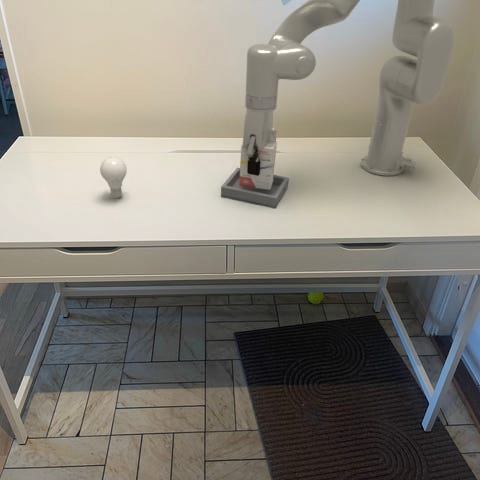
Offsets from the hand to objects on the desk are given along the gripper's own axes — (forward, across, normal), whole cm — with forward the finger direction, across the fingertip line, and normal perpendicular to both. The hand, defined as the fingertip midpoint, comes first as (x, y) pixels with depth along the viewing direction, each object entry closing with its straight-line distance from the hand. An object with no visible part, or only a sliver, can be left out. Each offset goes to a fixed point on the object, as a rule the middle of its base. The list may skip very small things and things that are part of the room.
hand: (257, 168), depth 123 cm
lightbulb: (+7, +17, -32) cm, 37 cm away
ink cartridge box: (+5, 0, 0) cm, 5 cm away
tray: (+7, 0, 0) cm, 7 cm away
